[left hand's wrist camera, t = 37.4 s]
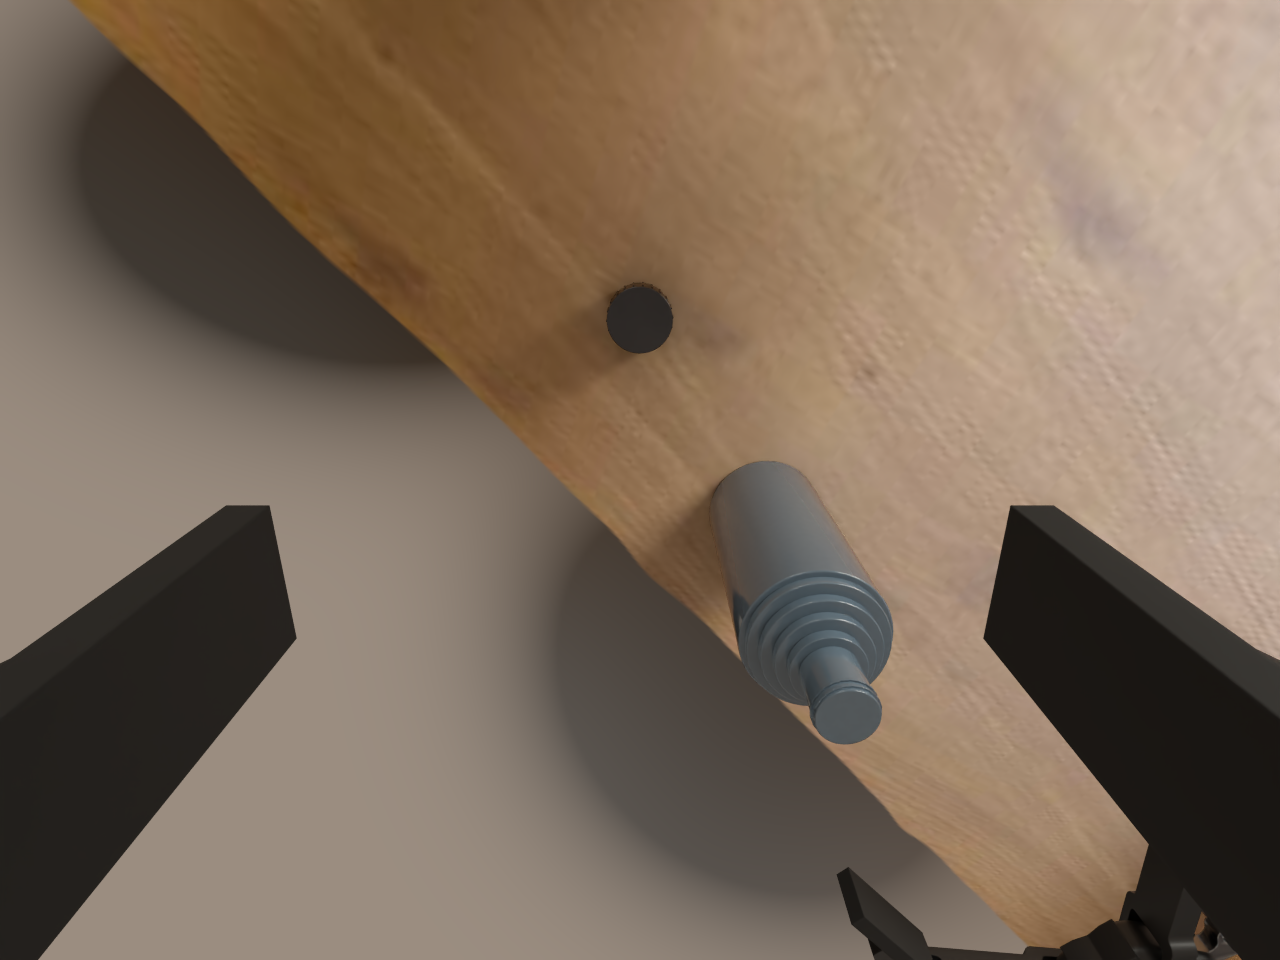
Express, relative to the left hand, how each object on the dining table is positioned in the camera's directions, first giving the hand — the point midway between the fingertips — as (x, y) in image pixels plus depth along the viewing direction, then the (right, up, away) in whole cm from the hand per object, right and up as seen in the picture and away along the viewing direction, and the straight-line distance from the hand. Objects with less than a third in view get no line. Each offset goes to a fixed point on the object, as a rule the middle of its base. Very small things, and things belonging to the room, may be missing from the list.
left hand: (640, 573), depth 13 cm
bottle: (+9, -1, +37) cm, 38 cm away
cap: (0, +11, +30) cm, 32 cm away
